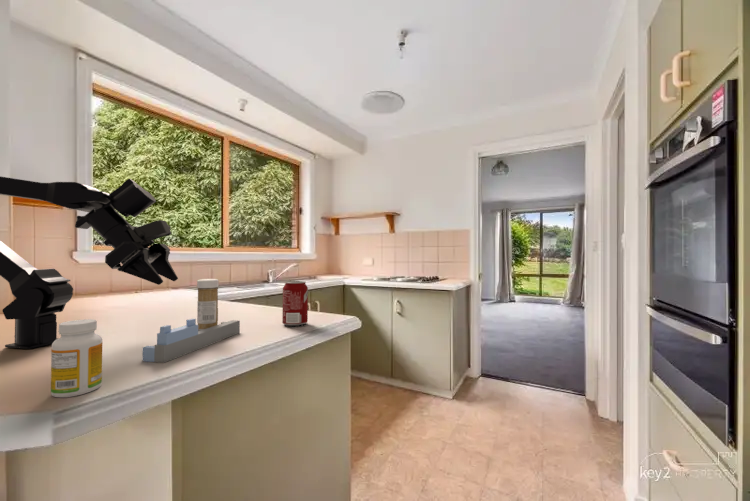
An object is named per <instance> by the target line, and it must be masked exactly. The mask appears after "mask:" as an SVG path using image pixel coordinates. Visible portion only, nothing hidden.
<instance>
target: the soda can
mask: <svg viewBox="0 0 750 501" xmlns="http://www.w3.org/2000/svg"><path fill="white" fill-rule="evenodd" d="M284 283H285V284H284V285H283V287H282V315H281V316H282V318H281V319H282V322H281V323H282V324H283V325H285V326H286V327H289V326H298V327H300V326H299V325H303V324H304V325H305V324H307V323H308V317H309V316H308V313H309V312H308V311H309V310H308V307H309V306H308V305H309V304H308V302H309V296H308V295H309V287H308V286H307V284H306V281H305V280H286V281H285V282H284ZM304 325H303V326H304Z"/></svg>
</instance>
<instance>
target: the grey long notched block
mask: <svg viewBox="0 0 750 501" xmlns="http://www.w3.org/2000/svg"><path fill="white" fill-rule="evenodd" d="M185 322H186V325H183V326H179V327H176V328H175V327H174V328H172V325H169V324H166V325H162V326H160V327H159V332H157V333H156V344H155V345H146V346H142V357H141V358H142V362H147V363H150V362H152V363H162V364H164V363H168V362H170V361H172V360H174V359H177V358H179V357H182V356H184V355H187V354H190V353H193V352H195V351H197V350H199V349H202V348H205V347H207V346H209V345H212V344H214V343H218V342H220V341H223V340H225V339H227V338H230V337H232V336H235V335H237V334H240V330H241V328H240V327H241V326H240V324H241V323H240V322H241V321H240V320H238V319H237V320H236V319H233V320H229V321H222V322H220V324H219V323H218V325H216V326H213V327H210V328H207V329H199V330H198V324H197V323H196V322H197V319H196V318H189V319H186V321H185Z"/></svg>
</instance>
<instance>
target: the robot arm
mask: <svg viewBox="0 0 750 501" xmlns="http://www.w3.org/2000/svg"><path fill="white" fill-rule="evenodd" d="M0 195H1V196H8V197H14V198H22V199H29V200H35V201H43V202H45V203H50V204H53V205H56V206H60V207H62V208H67V209H69V210H74V211H75V210H76V211H79V212H85V213H86V214H85V215H77V216H76V221H75V224H74V227H75V228H76V229H80V230H81V229H82V230H88V229H89V228H92V229H93V230H94V231H95V232H96V233H97V234H98V235H100V237H101V238H102V239H103V240H104V241H103V242H102V244H104V246H106V247H112V248H113V249H112V250H111V251H110V252H108V253H107V254H106V255H105V258H104V264H106V265H107V266H108V267H109V268H110V269H111V270H116V269H117V271H118V272H122V273H125V274H129V275H131V276H134V277H136V278H139V279H142V280H145V281H147V282H150V283H153V284H155V285H157V286H158V285H161V284H163V283H164V279H163V278H166V279H168V280H170V281H172V282H176V281H177V280H179V278H178V276H177V273H176V272H175V271H174V270H175V269H174V268H173V267H172V265H171V263H170V260H169V256H170V254H171V248H170V247H168V246H167V245H166V244H165V243H155V241H154V240H156V239H160V238H163V237H167V236H170V235H172V231H171V225H169V224H168V222H167V221H166V220H161V219H157V220H154V221H151V222H149V223H145V224H143V225H139V226H134V225H131V223H129V222H128V220H126V219H125V218H124V217H126V218H128V217H130V216H131V217H132V218H137V217H138V216H139V215H140V214H142V213H143V212H144V211H145V210H147V209H148V208H149V207H151V206H152V205H154V204H155V203H156V202H157V201H156V199H155V197H154V196H153V195H152V194H151V192H149V191H147V190H146V189H144V188H143V187H142V186H141V185H139V184H138V183H137V182H136V181H135V180H133V179H131V178H128V179H126V180H125V181H124V182H123V183H122V184H121V185H120V186H119V187H117V188H116V189H115V190H113V191H112V192H111V193H109V192H105V191H103V190H102V191H101V190H99V189H97V188H95V187H92V186H89V185H87V184H84V183H83V184H82V183H80V182H76V181H54V182H53V181H52V182H38V181H32V180H25V179H20V178H19V179H18V178H13V177H6V176H0ZM123 216H124V217H123ZM0 277H1V278H2V279H4V280H6V282H7V283H8V284H9V288H10V291H11V295H12V296H13V297H14V300H12V301H11V302H10V303H9V304H7V305H6V306H5V307H4V308H2V313H3V315H4V318H5V319H6V320H14V342H13V343H8V344H5V345H4V348H10V349H24V350H25V349H26V350H31V349H36V348H41V347H44V346H49V345H52V343H53V342H54V341H55V340H57V339H59V338H60V337H58V334H57V333H58V322H57V314H56V313H61V312H63V311H64V309H65V307H66V304H67V303H69V302H70V301H71V299H72V297H73V294H74V287H73V286H72V284H70V282H71V279H69V278H66V277H64V275H62V274H61V273H60V272H59V271H58V270H57V269H55V268H42V269H41V268H40V269H38V268H36V267H35V266H34V265H33V264H31V263H29V262H28V261H27V260H26V259H24V258H23V257H22V256H21V255H19V254H18V253H17V252H16V251H14V250H13V249H12V248H10V246H8V245H7V244H5V243H4V242H3V241H1V240H0ZM162 277H163V278H162Z"/></svg>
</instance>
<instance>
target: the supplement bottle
mask: <svg viewBox="0 0 750 501" xmlns="http://www.w3.org/2000/svg"><path fill="white" fill-rule="evenodd" d="M97 321H98V320H97V319H94V318H93V319H91V318H90V319H89V318H88V319H86V318H85V319H76V320H75V319H74V320H68V321H63V322H60V323H59V324H58V330H57V333H58V335H60V337H58V338H59V339H57V340H55V341H54V342H53V343H52V344H51V351H50V352H51V355H50V357H51V358H50V359H51V360H50V361H51V362H50V395H51V396H52V397H55V398H71V397H78V396H81V395H84V394H88V393H90V392H93V391H95V390H97V389H98V388H100V387H101V386H102V384H103V383H102V382H103V337H102V335H100V334H99V333H95V331H97V327H98V324H97Z"/></svg>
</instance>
